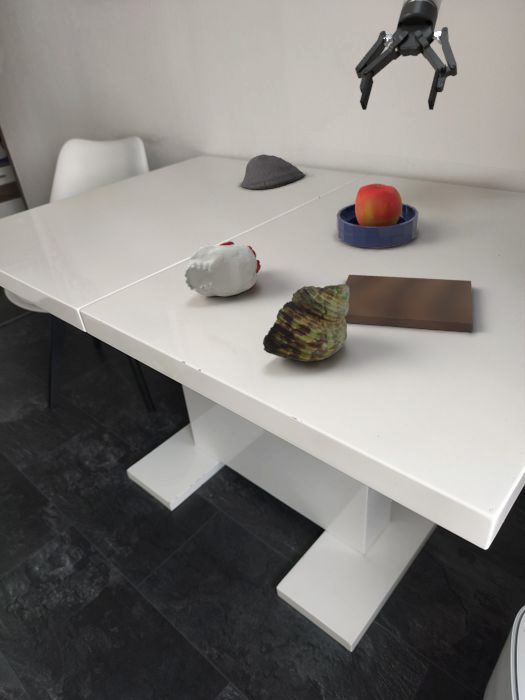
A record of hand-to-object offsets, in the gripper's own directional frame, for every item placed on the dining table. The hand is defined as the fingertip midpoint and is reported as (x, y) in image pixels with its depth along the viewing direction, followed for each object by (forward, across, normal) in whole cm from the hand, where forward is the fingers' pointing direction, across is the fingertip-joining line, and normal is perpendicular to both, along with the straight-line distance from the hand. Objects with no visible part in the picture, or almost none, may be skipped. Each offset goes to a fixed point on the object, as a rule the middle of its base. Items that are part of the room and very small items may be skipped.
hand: (395, 105), depth 108 cm
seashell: (+56, -4, +24) cm, 61 cm away
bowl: (+24, 0, -8) cm, 25 cm away
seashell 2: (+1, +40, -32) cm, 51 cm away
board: (+44, -13, +12) cm, 47 cm away
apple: (+24, 0, -8) cm, 25 cm away
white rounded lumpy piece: (+46, +17, +14) cm, 51 cm away
